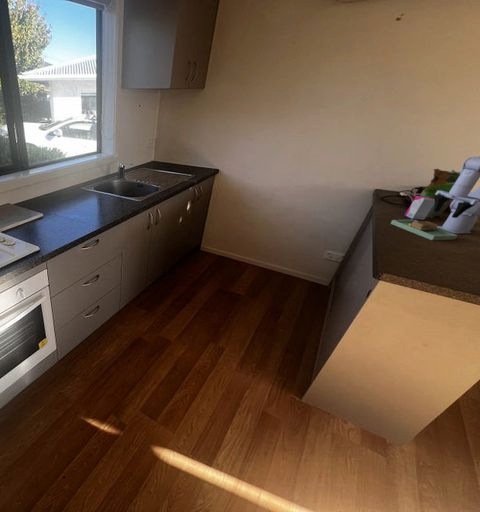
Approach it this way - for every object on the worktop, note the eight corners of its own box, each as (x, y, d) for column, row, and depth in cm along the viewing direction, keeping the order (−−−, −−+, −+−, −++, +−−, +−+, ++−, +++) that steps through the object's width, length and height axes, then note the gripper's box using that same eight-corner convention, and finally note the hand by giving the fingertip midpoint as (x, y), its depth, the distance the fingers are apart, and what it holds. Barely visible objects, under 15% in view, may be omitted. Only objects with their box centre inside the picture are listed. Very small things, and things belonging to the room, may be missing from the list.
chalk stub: (413, 225, 145) (413, 223, 144) (415, 226, 144) (416, 223, 143) (407, 226, 144) (408, 223, 144) (410, 226, 143) (411, 223, 143)
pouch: (446, 219, 155) (477, 172, 143) (428, 219, 154) (457, 172, 141) (423, 211, 165) (450, 167, 152) (405, 212, 163) (431, 167, 151)
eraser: (423, 227, 142) (427, 221, 141) (433, 231, 139) (437, 224, 137) (408, 228, 142) (412, 221, 140) (418, 231, 138) (422, 225, 136)
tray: (411, 223, 149) (413, 219, 148) (455, 239, 132) (458, 235, 131) (390, 223, 148) (392, 219, 147) (431, 240, 131) (434, 236, 130)
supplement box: (424, 220, 152) (437, 199, 147) (411, 219, 153) (423, 198, 148) (416, 216, 157) (428, 196, 152) (403, 215, 158) (415, 195, 153)
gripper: (437, 181, 133) (420, 209, 140) (476, 190, 121) (455, 220, 128) (450, 181, 134) (433, 208, 141) (490, 190, 122) (469, 220, 128)
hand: (444, 214), depth 134 cm, fingers open, 7 cm apart
